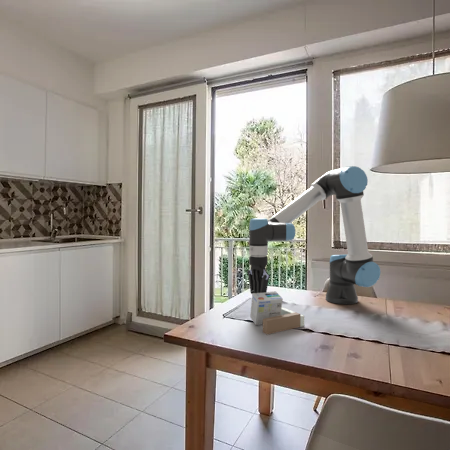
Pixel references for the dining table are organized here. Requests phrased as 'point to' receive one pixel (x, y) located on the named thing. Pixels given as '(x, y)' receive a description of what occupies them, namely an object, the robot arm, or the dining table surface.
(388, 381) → the dining table surface
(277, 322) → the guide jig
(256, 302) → the light bulb box
